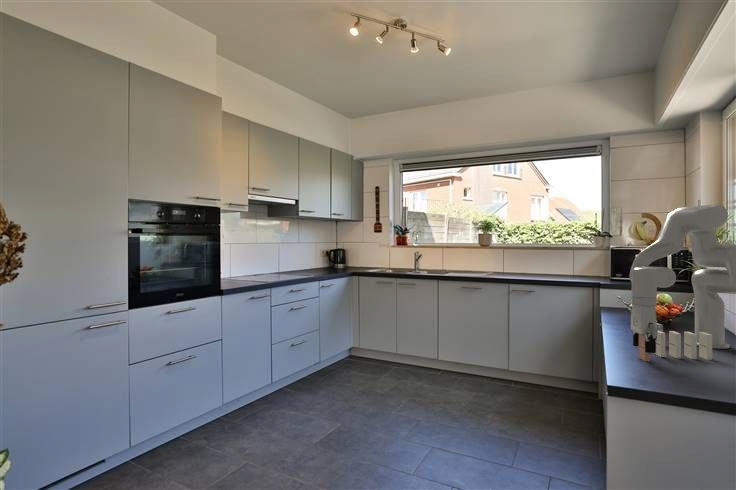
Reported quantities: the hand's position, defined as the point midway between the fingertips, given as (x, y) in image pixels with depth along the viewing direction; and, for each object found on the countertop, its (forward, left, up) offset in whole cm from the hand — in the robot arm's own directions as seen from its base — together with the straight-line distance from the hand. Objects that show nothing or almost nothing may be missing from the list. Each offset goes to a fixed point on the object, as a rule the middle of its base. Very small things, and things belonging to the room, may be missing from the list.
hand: (644, 349), depth 148 cm
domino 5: (-22, +11, -4) cm, 25 cm away
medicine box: (-31, -11, -4) cm, 33 cm away
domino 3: (-15, +4, -4) cm, 16 cm away
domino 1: (0, 0, -4) cm, 4 cm away
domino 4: (-18, +7, -4) cm, 20 cm away
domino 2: (-11, 0, -4) cm, 11 cm away
